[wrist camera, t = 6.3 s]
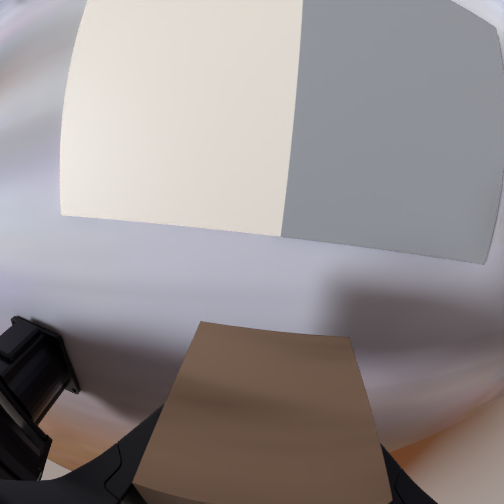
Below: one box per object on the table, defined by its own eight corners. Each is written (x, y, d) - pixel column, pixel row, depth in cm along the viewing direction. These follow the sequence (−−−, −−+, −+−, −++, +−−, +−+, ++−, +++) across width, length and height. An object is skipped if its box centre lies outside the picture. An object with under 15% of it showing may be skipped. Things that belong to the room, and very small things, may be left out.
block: (315, 423, 11) (321, 543, 5) (202, 411, 11) (168, 529, 5) (349, 337, 9) (393, 500, 3) (200, 321, 9) (132, 482, 3)
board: (478, 261, 12) (484, 264, 12) (67, 212, 14) (61, 215, 13) (491, 30, 7) (496, 27, 7) (100, -17, 8) (95, -20, 8)
